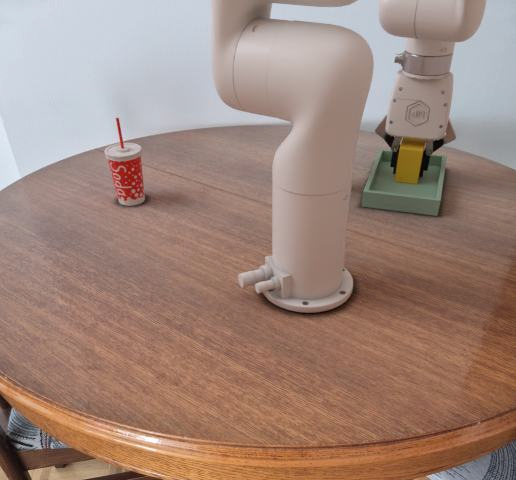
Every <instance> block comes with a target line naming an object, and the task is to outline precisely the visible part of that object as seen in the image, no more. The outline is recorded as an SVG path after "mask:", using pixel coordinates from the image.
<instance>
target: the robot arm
mask: <svg viewBox="0 0 516 480" xmlns="http://www.w3.org/2000/svg"><path fill="white" fill-rule="evenodd" d="M356 2H358V0H211V43H210V44H211V72H212V73H211V74H212V79H213V84H214V88H215V90H216V93H217V95H218V97H219V98H220V100H221V101H222V102H223V103H224V104H225V105H226V106H227V107H230V108H231V109H233V110H236V111H240V112H244V113H249V114H253V115H254V114H255V115H259V116H264V117H269V118H275V119H279V120H282V121H286V122H290V124H291V125H292V128H291V131H290V132H289V134H288V136H287V137H286V138H285V139H284V140H283V141H282V142H281V143H280V145H279V146H278V148H277V149H276V151H275V153H274V156H273V160H272V165H271V166H272V167H271V180H272V181H271V187H272V189H271V190H272V191H271V192H272V193H271V215H272V216H271V223H272V224H271V254H270V255H266V256H264V264H263V265H259V267H258V269H254V270H248V271H245V272H241V273H238V274H237V281H238V284H239V285H240V288H242V289H244V288H248V287H251V286H254V290H255V292H256V293H257V294H258V295H259V294H263V295H264V297H265V298H266V299H267V300H268V301H269V302H270V303H272V304H273V305H275V306H277V307H278V308H282V309H284V310H286V311H291V312H296V313H305V314H312V313H322V312H326V311H331V310H333V309H335V308H338V307H339V306H341V305H343V304H344V303H345V302H347V301H348V299H349V298H350V297H351V295H352V293H353V290H354V279H353V276H352V274H351V273H350V271H349V269H347V268H346V267H345V266H344V265H345V254H346V245H347V237H348V235H347V234H348V226H349V216H350V206H351V197H352V196H351V195H352V186H353V179H354V177H353V176H354V168H355V158H356V152H357V151H356V150H357V144H358V139H359V132H360V129H361V124H362V119H363V116H364V111H365V108H366V104H367V101H368V97H369V93H370V89H371V86H372V81H373V76H374V65H375V64H374V61H375V60H374V55H373V51H372V49H371V46H370V44H369V42H368V41H367V40H366V39H365V38H364V37H363V36H362V35H361V34H360V33H358V32H356V31H354V30H353V29H351V28H347V27H344V26H341V25H337V24H331V23H325V22H324V23H323V22H315V21H305V20H296V19H293V20H289V19H280V18H279V19H278V18H271V13H272V9H273V4H280V5H290V6H300V7H301V6H303V7H317V8H342V7H346V6H349V5H352V4H354V3H356ZM486 6H487V0H380V1H379V4H378V20H379V24H380V26H381V28H382V30H384V32H385V33H387V34H389V35H391V36H394V37H399V38H406V42H405V48H404V51H403V52H400V53H395V56H394V60H393V61H394V64H398V65H400V67H401V69H399V70H398V71H397V72H396V75H395V77H394V81H393V85H392V88H391V92H390V97H389V103H388V109H387V113H386V114H385V116H383V118H382V119H381V120H380V121H379V123H378V124H377V126H376V127H375V129H374V132H375V134H377V136H379V137H380V138H381V139H383V140H384V142H385V143H386V144H387V146H388V147H389V148H390V150H391V151H392V158H391V165H390V167H394V169H393V174H396V168H397V162H398V156H399V149H400V146H401V143H402V140H403V138H413V139H424V140H426V142H425V147H424V152H423V156H422V161H421V167H420V172H419V177H422V176H423V171H428V166H429V161H430V156H431V155H432V154H434V153H435V152H436V151H438V150H439V149H440V148H442V147H443V146H445V145H447V144H449V143H451V142H453V141H455V140H457V133H456V131H455V128H454V126H453V123H452V121H451V119H450V113H451V107H452V101H453V94H454V93H453V92H454V73H453V72H452V71H451V67H452V61H453V56H454V51H455V47H456V46H455V45H456V43H462V42H465V41H467V40H469V39H471V38H472V37H473V36H474V35H475V34H476V33H477V31H478V30H479V28H480V26H481V24H482V22H483V19H484V14H485V10H486Z"/></svg>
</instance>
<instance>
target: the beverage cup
mask: <svg viewBox="0 0 516 480" xmlns="http://www.w3.org/2000/svg"><path fill="white" fill-rule="evenodd" d="M115 120H116V127H117V132H118V137H119V142H118V143H115V144H111V145H109V146H107V147H106V148H105V149H104V155H105V158H106V160H107V161H108V165H109V170H110V173H111V177H112V181H113V184H114V188H115V192H116V197H117V199H118V203H119V204H120V205H123V206H126V207H127V206H128V207H129V206H130V207H131V206H137V205H140V204H142V203H144V202H145V200H146V196H145V185H144V184H145V183H144V174H143V164H142V154H143V149H142V146H141V145H140V144H139V143H135V142H124V140H123V134H122V128H121V122H120V118H119V117H115Z"/></svg>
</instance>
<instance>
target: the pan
mask: <svg viewBox="0 0 516 480" xmlns="http://www.w3.org/2000/svg"><path fill="white" fill-rule="evenodd" d="M447 157H448V155H446V154H437V153H433V154H432V155H431V156H430V161H429V166H428V171H423V176H422V177H419V178H418V182H417V184H411V183H402V182H395V175H396V174H393V169H394V167H390V165H391V158H392V151H391V149H387V148H379V149H378V151H377V154H376V156H375V160H374V162H373V165H372V166H371V167H372V168H371V169H370V172H369V175H368V178H367V180H366V183H365V186H364V188H363V190H362V199H361V207H362V208H369V209H378V210H386V211H392V212H401V213H408V214H409V213H410V214H417V215H426V216H433V217H438V216H439V211H440V207H441V201H442V194H443V187H444V181H445V173H446V167H447V166H446V165H447V159H448V158H447Z"/></svg>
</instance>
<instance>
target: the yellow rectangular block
mask: <svg viewBox="0 0 516 480" xmlns="http://www.w3.org/2000/svg"><path fill="white" fill-rule="evenodd" d="M400 145H401V146H400V149H399V156H398V162H397V168H396V175H395V182H402V183H411V184H417V182H418V178H419V172H420V167H421V161H422V156H423V152H424V150H425V147H426V140H424V139H413V138H403V137H402V139H401V142H400Z"/></svg>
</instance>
